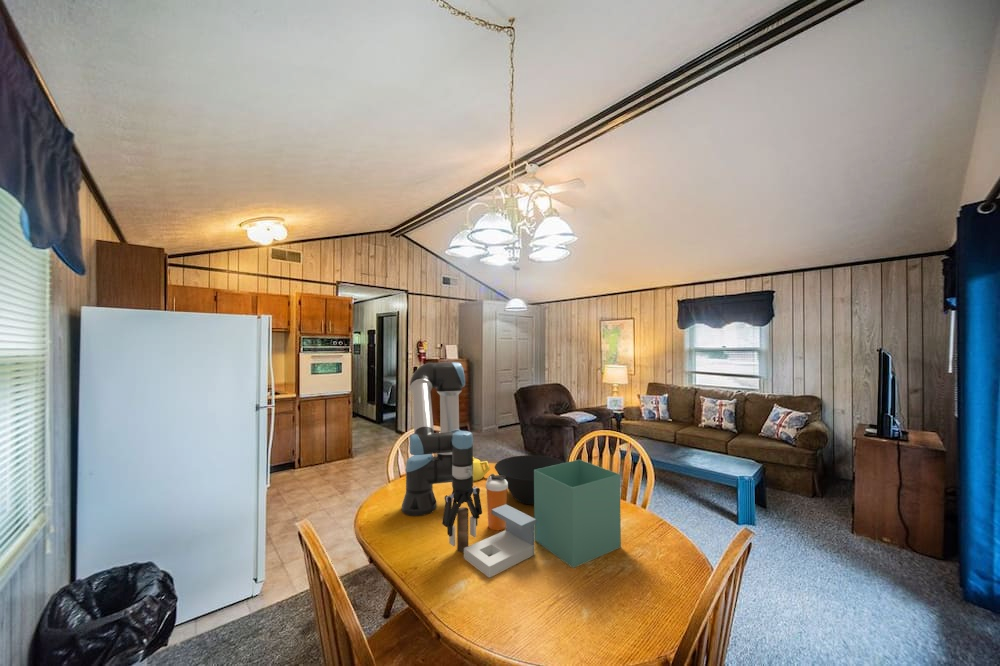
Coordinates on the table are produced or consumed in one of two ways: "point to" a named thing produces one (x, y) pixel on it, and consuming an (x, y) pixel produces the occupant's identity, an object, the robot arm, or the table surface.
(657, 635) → the table surface
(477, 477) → the teapot
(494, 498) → the shaker bottle
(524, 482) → the bowl
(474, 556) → the socket station
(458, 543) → the peg
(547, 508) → the box
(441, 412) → the robot arm
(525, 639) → the table surface
